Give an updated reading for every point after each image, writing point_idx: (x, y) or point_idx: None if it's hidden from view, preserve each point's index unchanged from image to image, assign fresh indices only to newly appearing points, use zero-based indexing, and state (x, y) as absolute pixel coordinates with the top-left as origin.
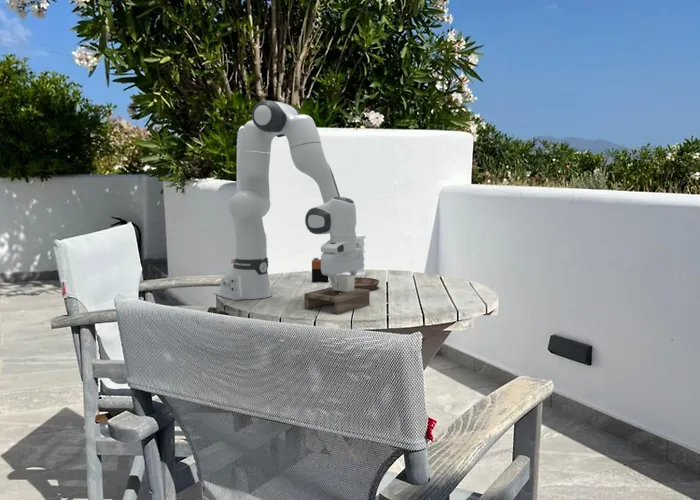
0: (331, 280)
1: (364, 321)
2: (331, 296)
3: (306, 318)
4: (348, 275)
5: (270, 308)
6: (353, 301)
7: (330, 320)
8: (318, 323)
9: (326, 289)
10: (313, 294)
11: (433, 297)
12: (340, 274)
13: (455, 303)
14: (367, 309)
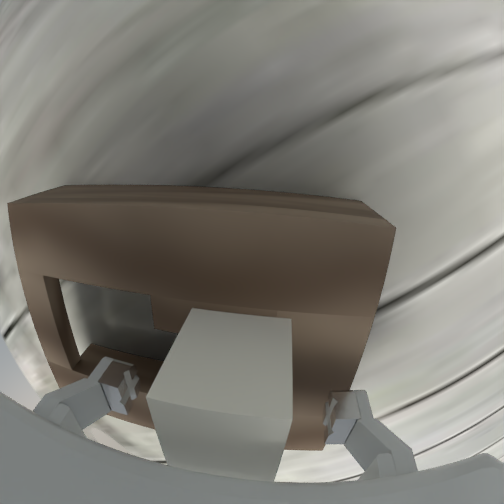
0: (73, 391)
1: (103, 428)
2: (60, 367)
3: (7, 288)
4: (254, 477)
5: (21, 63)
6: None
7: (43, 358)
8: (12, 341)
9: (177, 246)
10: (23, 265)
11: (475, 441)
12: (266, 429)
13: None
14: None
